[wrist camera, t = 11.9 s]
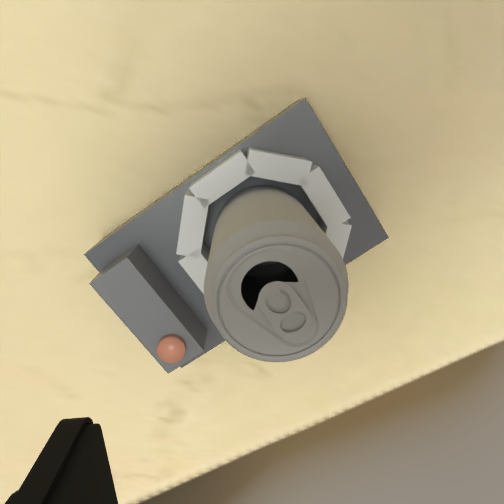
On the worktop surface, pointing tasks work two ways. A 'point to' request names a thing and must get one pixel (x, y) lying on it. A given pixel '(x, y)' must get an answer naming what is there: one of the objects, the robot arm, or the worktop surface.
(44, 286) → the worktop surface
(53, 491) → the robot arm
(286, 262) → the beverage can
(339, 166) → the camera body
